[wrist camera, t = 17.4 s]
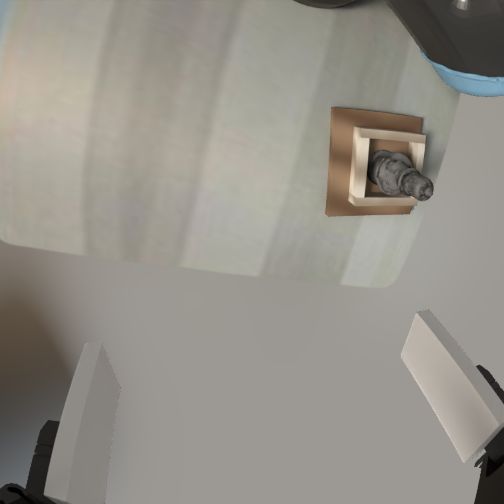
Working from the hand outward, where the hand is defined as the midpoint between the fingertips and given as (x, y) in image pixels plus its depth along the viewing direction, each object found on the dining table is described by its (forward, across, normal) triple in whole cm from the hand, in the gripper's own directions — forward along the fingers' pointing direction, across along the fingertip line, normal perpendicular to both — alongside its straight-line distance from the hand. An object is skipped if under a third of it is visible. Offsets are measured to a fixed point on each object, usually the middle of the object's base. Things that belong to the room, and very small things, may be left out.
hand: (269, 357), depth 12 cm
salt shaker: (+31, +22, +1) cm, 38 cm away
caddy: (+32, +21, +1) cm, 38 cm away
